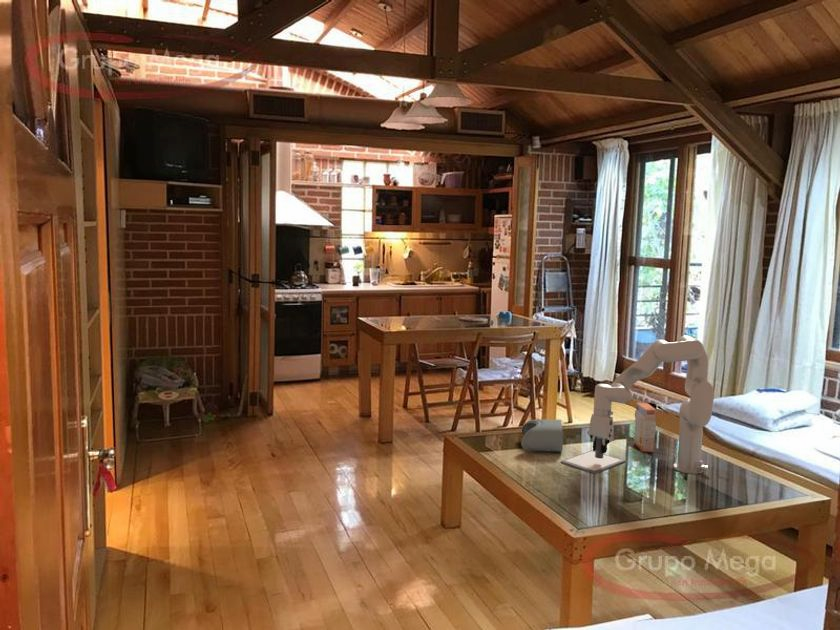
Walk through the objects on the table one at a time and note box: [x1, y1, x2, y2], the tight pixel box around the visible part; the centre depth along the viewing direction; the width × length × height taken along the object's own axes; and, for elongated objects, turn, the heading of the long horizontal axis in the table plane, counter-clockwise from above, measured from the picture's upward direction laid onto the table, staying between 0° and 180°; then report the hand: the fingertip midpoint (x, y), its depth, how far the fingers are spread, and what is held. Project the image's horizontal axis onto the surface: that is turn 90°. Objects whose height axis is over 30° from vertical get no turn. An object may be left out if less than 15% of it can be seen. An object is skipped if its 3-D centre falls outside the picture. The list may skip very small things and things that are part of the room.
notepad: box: [560, 450, 626, 475], centre depth 314 cm, size 18×24×1 cm
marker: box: [595, 436, 604, 458], centre depth 309 cm, size 4×4×12 cm
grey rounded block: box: [520, 419, 564, 452], centre depth 332 cm, size 22×19×13 cm
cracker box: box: [633, 402, 658, 453], centre depth 335 cm, size 14×6×21 cm, turn 179°
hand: (599, 451), depth 309 cm, fingers closed on marker, 3 cm apart
